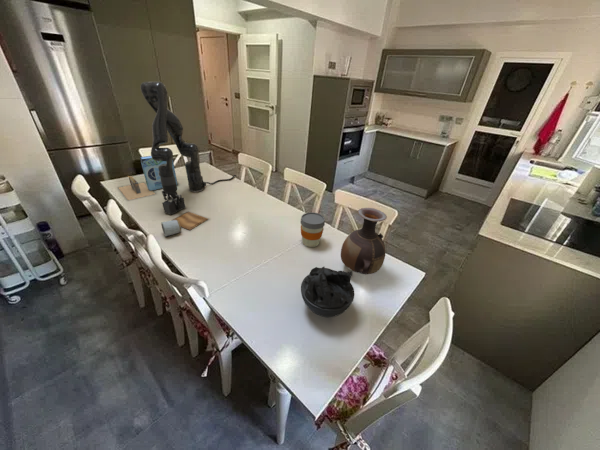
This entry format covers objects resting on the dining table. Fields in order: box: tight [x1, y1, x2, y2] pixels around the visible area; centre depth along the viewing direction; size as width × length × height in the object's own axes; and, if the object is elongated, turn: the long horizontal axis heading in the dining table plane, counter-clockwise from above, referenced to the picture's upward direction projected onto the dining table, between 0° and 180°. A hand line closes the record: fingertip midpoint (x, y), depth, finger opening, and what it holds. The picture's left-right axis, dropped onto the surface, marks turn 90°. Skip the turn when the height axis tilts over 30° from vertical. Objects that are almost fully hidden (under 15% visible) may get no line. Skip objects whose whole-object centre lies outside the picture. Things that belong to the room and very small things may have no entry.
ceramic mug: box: [160, 219, 182, 237], centre depth 134 cm, size 11×8×8 cm
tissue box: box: [161, 197, 186, 216], centre depth 153 cm, size 11×5×7 cm, turn 154°
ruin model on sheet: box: [118, 175, 156, 201], centre depth 174 cm, size 25×16×10 cm, turn 44°
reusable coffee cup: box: [300, 211, 326, 248], centre depth 132 cm, size 13×13×15 cm
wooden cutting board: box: [172, 211, 209, 231], centre depth 147 cm, size 14×16×1 cm
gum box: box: [139, 155, 179, 191], centre depth 177 cm, size 20×5×23 cm, turn 134°
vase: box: [340, 207, 388, 275], centre depth 112 cm, size 23×19×30 cm
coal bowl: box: [300, 266, 355, 318], centre depth 94 cm, size 20×20×19 cm
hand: (174, 208), depth 155 cm, fingers closed on tissue box, 5 cm apart
